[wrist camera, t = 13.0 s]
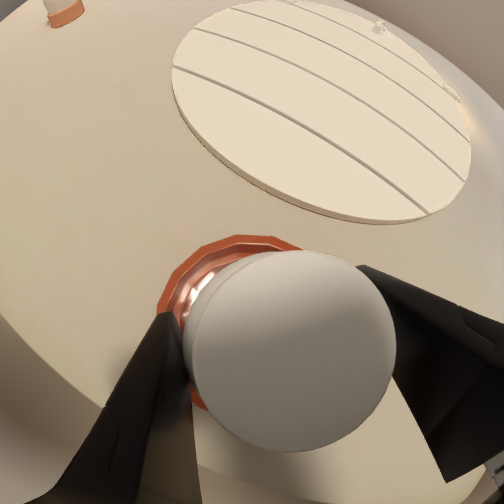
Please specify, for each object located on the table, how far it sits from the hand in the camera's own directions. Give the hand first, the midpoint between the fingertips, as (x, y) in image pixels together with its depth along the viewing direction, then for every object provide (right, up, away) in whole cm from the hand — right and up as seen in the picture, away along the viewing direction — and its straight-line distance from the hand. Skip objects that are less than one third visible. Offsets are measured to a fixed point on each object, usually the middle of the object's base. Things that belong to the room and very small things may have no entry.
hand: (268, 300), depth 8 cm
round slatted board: (+10, +23, +20) cm, 32 cm away
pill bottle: (0, -3, +6) cm, 7 cm away
